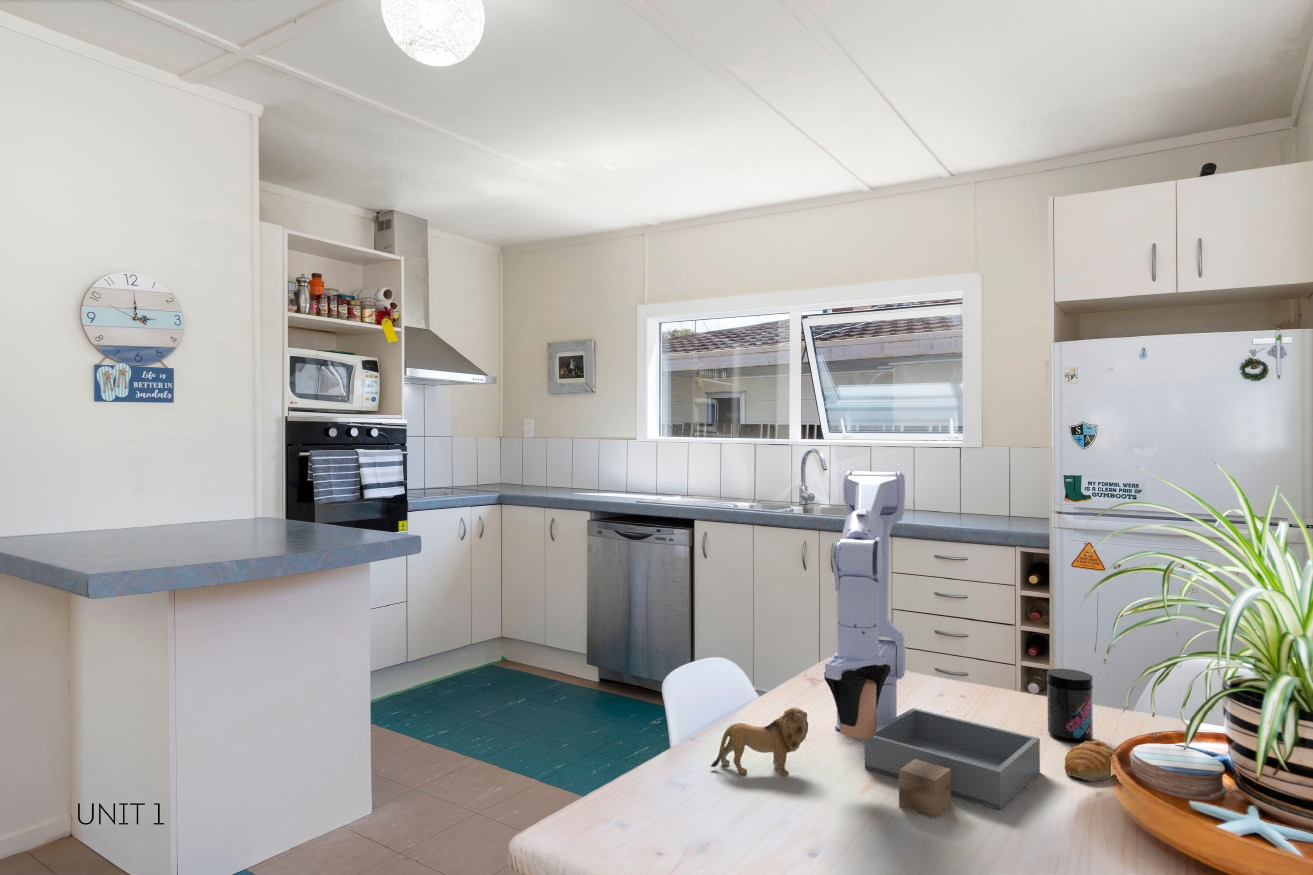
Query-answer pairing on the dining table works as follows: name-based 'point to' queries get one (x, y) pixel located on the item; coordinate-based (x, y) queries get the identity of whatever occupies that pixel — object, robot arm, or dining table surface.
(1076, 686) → the supplement container
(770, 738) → the lion figurine
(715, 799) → the dining table surface
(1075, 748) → the pastry
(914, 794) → the walnut block
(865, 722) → the terracotta cylinder
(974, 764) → the tote
